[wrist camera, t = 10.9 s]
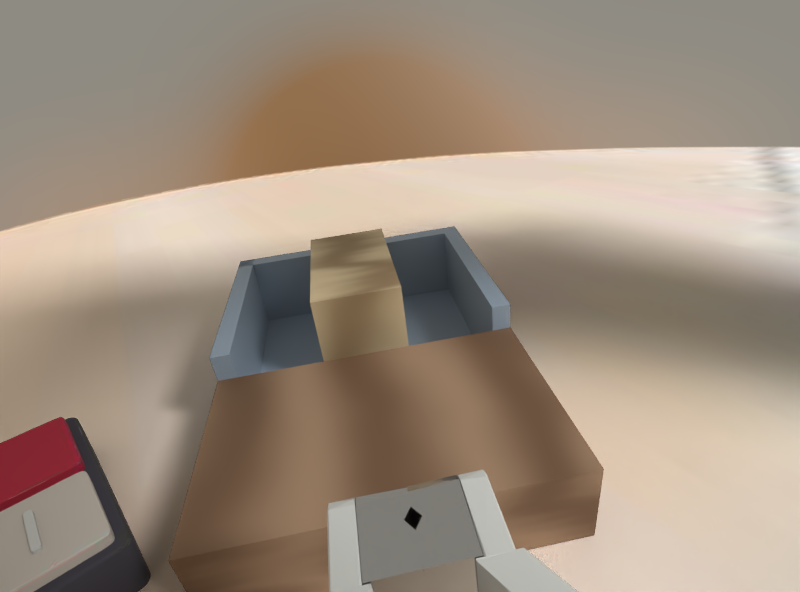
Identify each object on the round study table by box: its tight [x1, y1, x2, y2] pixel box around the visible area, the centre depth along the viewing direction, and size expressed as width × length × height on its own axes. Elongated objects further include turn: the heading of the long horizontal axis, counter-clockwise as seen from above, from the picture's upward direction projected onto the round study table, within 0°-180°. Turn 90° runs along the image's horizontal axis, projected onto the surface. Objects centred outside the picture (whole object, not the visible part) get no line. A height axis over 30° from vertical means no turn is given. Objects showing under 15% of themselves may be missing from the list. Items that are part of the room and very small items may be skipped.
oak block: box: [310, 229, 409, 361], centre depth 32 cm, size 5×6×9 cm
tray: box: [210, 227, 510, 381], centre depth 32 cm, size 16×12×6 cm
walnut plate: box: [168, 328, 604, 592], centre depth 23 cm, size 16×10×4 cm, turn 99°
